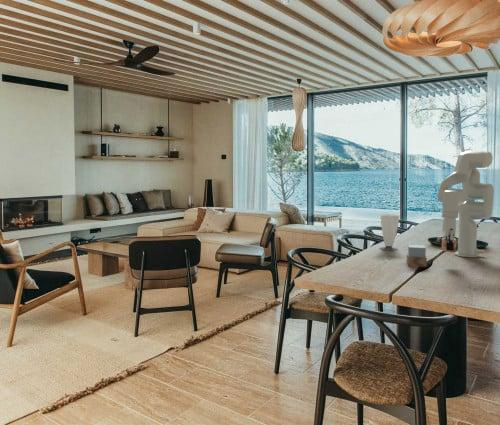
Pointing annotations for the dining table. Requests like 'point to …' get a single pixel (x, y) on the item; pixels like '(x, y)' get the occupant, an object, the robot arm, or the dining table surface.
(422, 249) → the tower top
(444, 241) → the terracotta cube
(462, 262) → the dining table surface
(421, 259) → the tower base
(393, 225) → the cup
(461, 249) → the robot arm
